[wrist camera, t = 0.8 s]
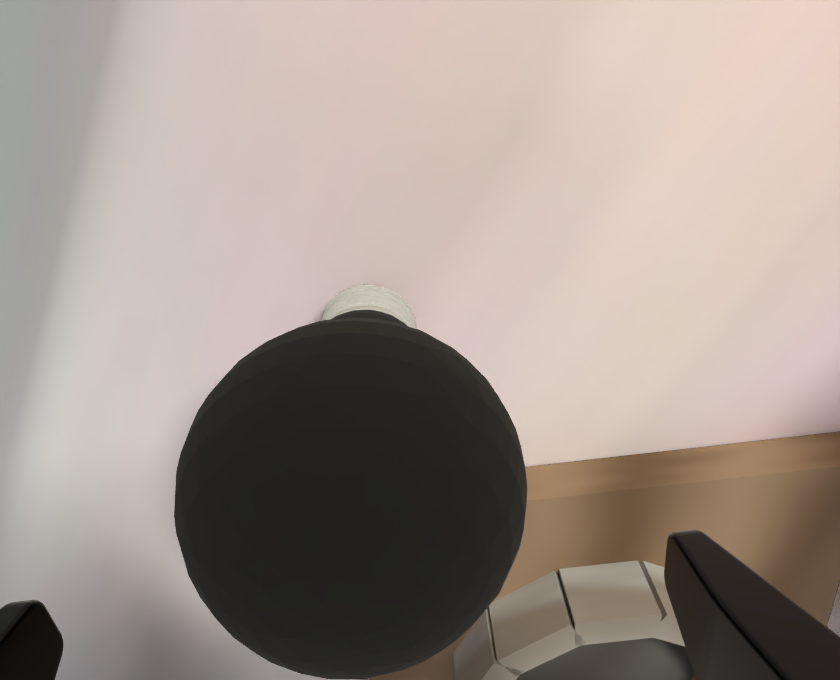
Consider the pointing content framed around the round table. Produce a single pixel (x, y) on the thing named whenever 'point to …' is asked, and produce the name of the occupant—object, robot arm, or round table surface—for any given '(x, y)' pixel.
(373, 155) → the round table surface
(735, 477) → the socket base
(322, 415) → the light bulb
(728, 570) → the robot arm
